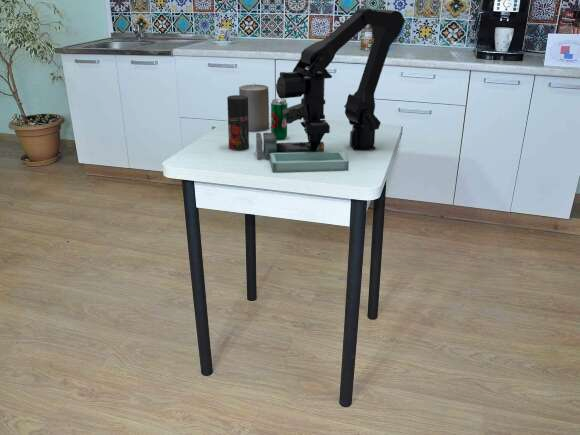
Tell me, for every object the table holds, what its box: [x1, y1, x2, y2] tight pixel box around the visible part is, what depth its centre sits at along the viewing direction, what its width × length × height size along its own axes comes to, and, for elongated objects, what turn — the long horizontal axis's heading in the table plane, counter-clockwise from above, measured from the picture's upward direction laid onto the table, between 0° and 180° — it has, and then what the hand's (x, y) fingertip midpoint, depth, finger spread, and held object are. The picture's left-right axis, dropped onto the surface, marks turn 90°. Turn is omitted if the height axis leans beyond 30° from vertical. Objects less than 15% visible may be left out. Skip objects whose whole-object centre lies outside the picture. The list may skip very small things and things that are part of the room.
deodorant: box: [226, 94, 250, 152], centre depth 160 cm, size 6×6×15 cm
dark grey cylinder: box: [276, 141, 325, 153], centre depth 157 cm, size 14×3×3 cm, turn 97°
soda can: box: [270, 98, 288, 141], centre depth 171 cm, size 5×5×12 cm
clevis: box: [255, 132, 278, 161], centre depth 155 cm, size 5×8×6 cm, turn 7°
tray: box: [269, 150, 350, 173], centre depth 148 cm, size 20×9×2 cm, turn 97°
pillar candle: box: [238, 82, 270, 133], centre depth 182 cm, size 10×10×15 cm
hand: (312, 150), depth 158 cm, fingers closed on dark grey cylinder, 3 cm apart
